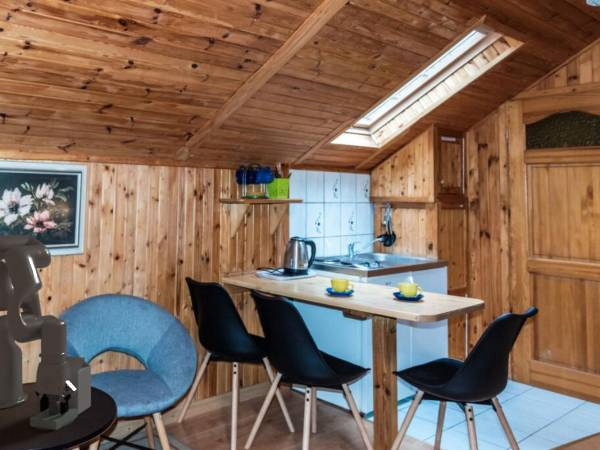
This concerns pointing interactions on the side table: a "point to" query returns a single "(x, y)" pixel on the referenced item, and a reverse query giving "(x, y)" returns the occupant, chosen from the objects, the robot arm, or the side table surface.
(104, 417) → the side table surface
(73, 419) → the mat
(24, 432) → the side table surface
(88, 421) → the side table surface
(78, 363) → the milk carton
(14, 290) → the robot arm
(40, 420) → the square plate with knob
